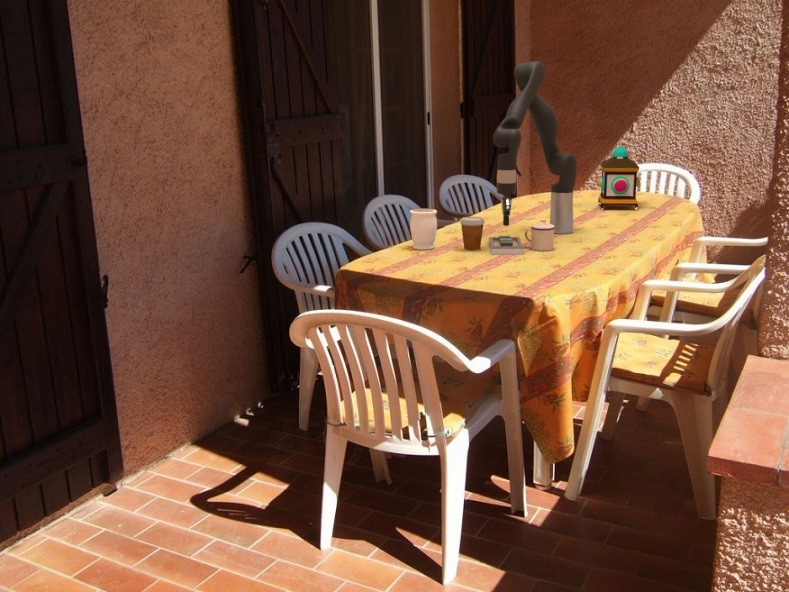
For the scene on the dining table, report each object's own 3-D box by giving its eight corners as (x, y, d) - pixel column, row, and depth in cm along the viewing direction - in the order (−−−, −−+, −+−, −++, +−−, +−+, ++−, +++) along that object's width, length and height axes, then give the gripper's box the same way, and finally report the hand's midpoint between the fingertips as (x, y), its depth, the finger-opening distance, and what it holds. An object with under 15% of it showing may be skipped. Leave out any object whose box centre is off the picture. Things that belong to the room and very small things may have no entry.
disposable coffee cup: (484, 246, 349) (484, 216, 346) (484, 251, 340) (484, 220, 337) (460, 246, 350) (460, 216, 347) (459, 251, 341) (459, 220, 338)
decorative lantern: (595, 204, 443) (597, 144, 435) (635, 204, 440) (639, 144, 432) (598, 211, 424) (601, 148, 416) (640, 211, 421) (644, 148, 413)
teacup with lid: (557, 247, 344) (558, 218, 341) (549, 252, 337) (550, 222, 334) (528, 244, 350) (529, 216, 347) (519, 249, 343) (520, 219, 340)
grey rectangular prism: (510, 239, 349) (510, 235, 348) (510, 241, 346) (510, 237, 345) (498, 239, 349) (498, 235, 349) (499, 241, 346) (499, 237, 346)
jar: (418, 251, 341) (418, 213, 337) (405, 247, 350) (405, 209, 346) (441, 248, 346) (441, 211, 342) (428, 244, 354) (428, 207, 350)
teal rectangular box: (511, 242, 344) (511, 238, 344) (511, 243, 341) (511, 239, 341) (499, 242, 344) (499, 238, 344) (500, 244, 341) (500, 239, 341)
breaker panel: (518, 244, 352) (519, 236, 351) (523, 254, 334) (523, 246, 333) (488, 244, 352) (488, 237, 351) (491, 254, 335) (491, 246, 334)
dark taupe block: (512, 244, 339) (512, 240, 339) (512, 246, 336) (512, 242, 336) (500, 244, 339) (500, 240, 339) (501, 246, 336) (501, 242, 336)
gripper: (518, 183, 333) (517, 228, 338) (514, 178, 346) (514, 222, 350) (498, 183, 333) (497, 228, 338) (495, 178, 346) (495, 222, 351)
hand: (506, 225), depth 344 cm, fingers closed
